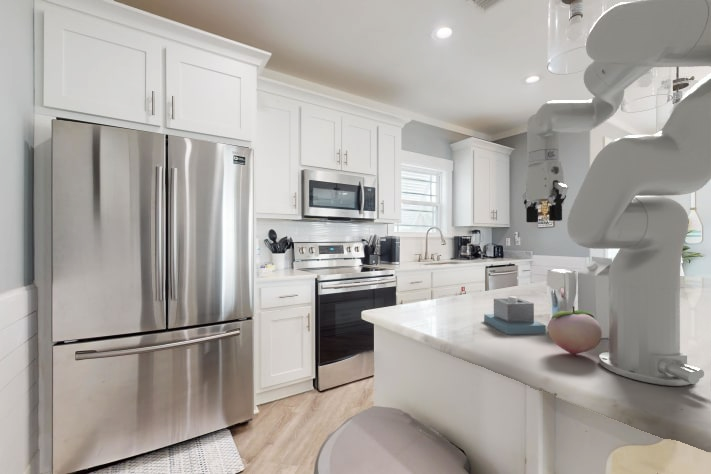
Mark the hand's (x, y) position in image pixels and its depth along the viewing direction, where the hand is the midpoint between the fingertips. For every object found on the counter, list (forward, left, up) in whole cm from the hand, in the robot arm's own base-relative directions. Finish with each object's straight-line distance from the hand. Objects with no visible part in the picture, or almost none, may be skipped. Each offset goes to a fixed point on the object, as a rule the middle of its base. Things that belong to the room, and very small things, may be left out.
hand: (543, 221), depth 87 cm
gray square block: (-2, +10, -26) cm, 28 cm away
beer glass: (-3, -3, -28) cm, 29 cm away
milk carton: (-10, -8, -28) cm, 31 cm away
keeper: (-2, +10, -28) cm, 30 cm away
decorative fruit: (-22, +9, -28) cm, 37 cm away
